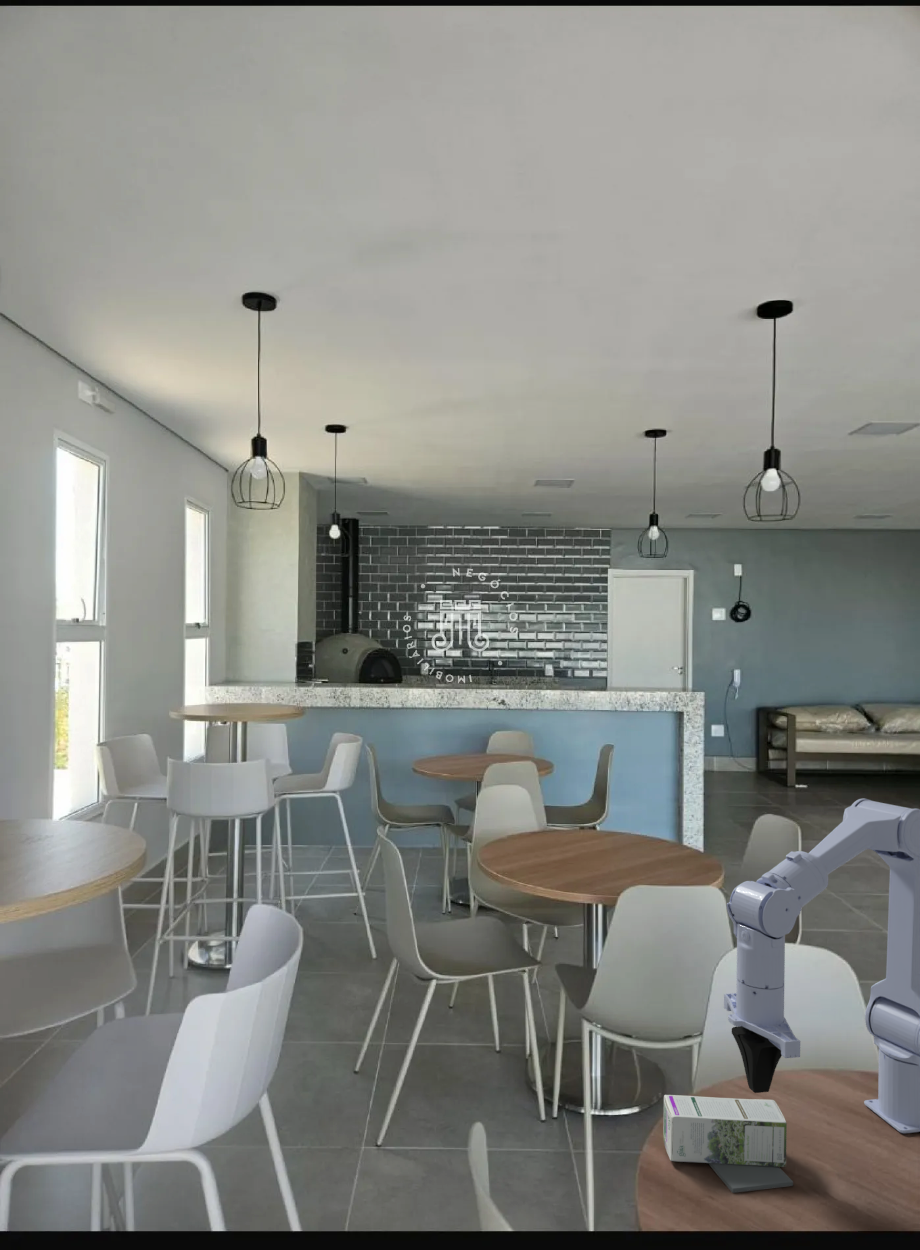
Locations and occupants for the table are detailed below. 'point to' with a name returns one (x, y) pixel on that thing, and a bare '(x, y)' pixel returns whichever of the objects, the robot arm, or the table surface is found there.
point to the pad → (751, 1177)
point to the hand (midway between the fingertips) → (758, 1089)
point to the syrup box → (724, 1130)
